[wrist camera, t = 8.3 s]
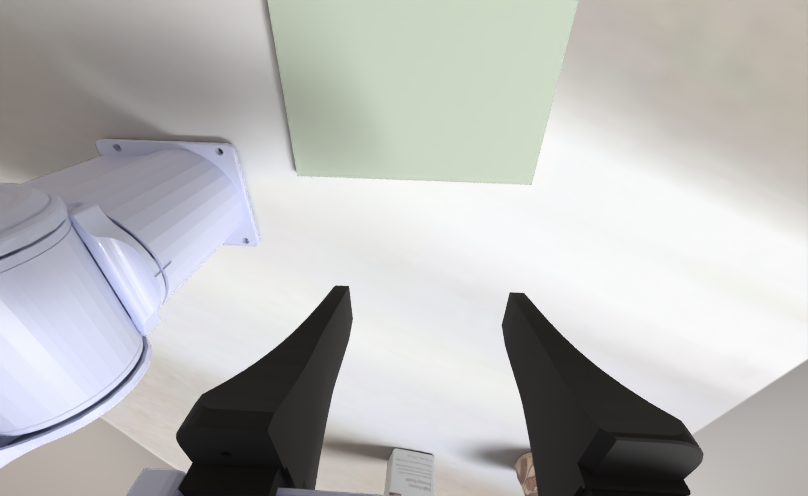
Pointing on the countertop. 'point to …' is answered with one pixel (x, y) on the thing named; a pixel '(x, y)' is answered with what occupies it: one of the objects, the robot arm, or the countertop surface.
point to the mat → (420, 85)
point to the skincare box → (410, 474)
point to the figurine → (526, 474)
